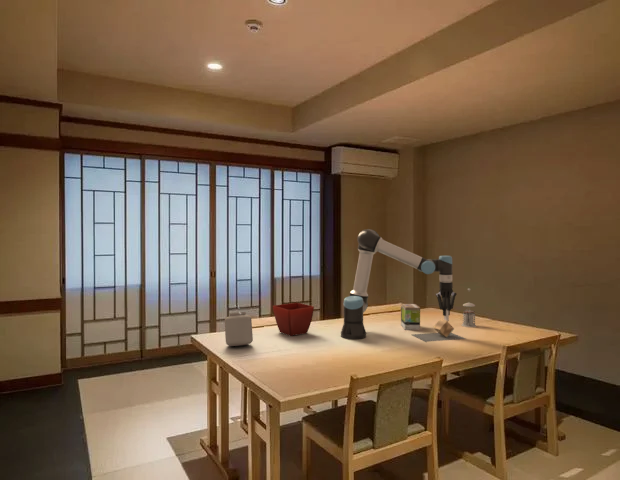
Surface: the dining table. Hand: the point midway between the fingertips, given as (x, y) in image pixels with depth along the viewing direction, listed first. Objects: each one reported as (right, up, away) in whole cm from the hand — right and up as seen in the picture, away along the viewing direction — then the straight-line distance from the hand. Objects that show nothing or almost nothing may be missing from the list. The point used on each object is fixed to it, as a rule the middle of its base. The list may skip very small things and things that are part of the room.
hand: (446, 321), depth 269 cm
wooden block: (+1, -7, 0) cm, 7 cm away
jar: (-121, -10, -20) cm, 123 cm away
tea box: (-16, -9, +25) cm, 31 cm away
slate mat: (-5, -9, -1) cm, 11 cm away
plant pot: (-92, -10, +10) cm, 93 cm away
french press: (+24, -9, +30) cm, 39 cm away
